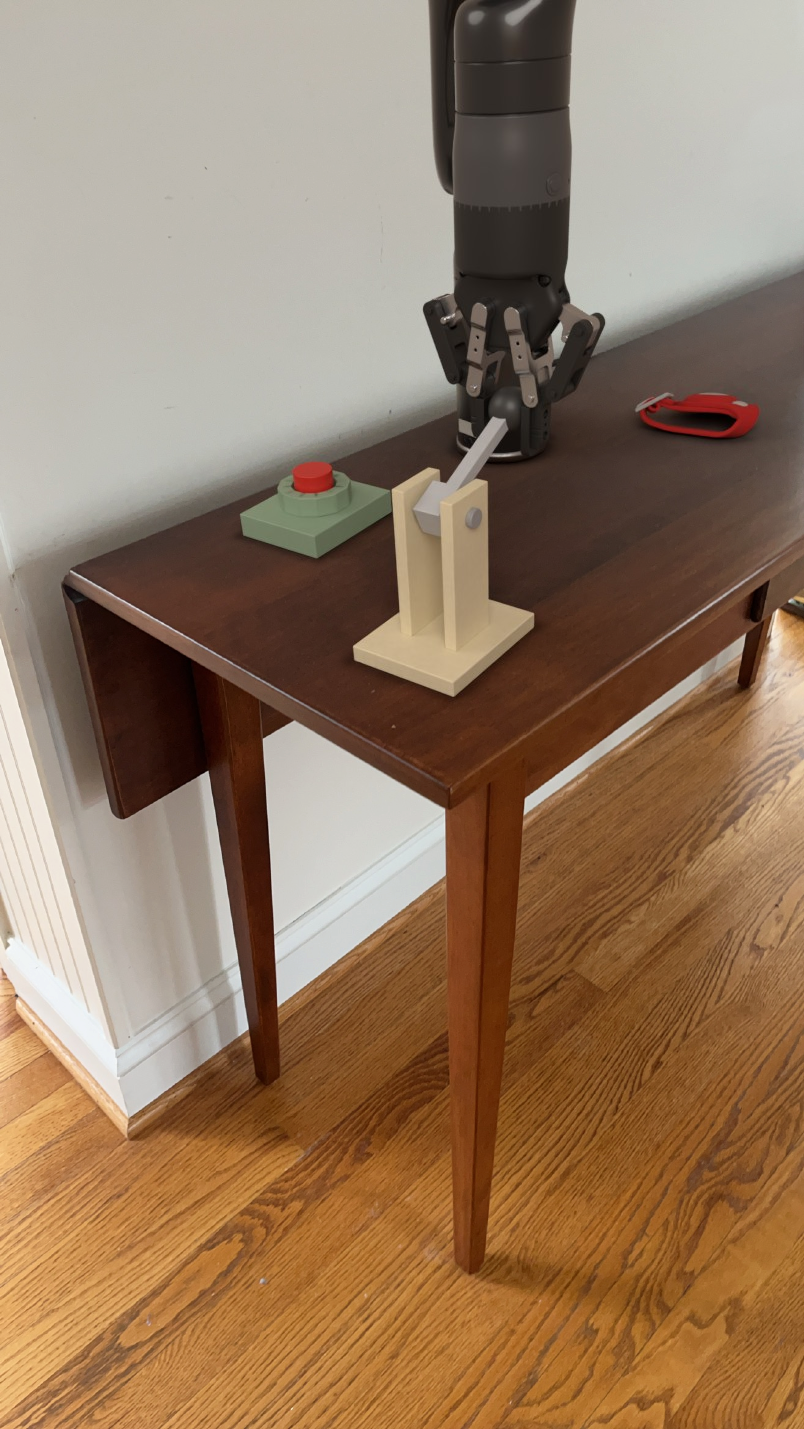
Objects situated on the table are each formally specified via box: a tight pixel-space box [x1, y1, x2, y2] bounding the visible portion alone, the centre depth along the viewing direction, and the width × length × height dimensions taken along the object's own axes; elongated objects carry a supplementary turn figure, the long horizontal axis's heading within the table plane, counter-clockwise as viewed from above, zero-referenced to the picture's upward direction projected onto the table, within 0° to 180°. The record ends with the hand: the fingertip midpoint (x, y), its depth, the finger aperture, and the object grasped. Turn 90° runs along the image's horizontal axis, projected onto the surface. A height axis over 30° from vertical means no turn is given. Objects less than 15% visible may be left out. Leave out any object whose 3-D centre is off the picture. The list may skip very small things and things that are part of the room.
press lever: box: [413, 386, 525, 537], centre depth 72 cm, size 13×3×3 cm, turn 143°
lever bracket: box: [352, 467, 535, 698], centre depth 74 cm, size 11×9×13 cm
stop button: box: [292, 461, 334, 493], centre depth 93 cm, size 4×4×2 cm
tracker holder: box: [634, 392, 760, 439], centre depth 108 cm, size 12×4×10 cm
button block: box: [239, 470, 393, 559], centre depth 94 cm, size 11×9×4 cm
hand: (509, 446), depth 76 cm, fingers closed on press lever, 3 cm apart
